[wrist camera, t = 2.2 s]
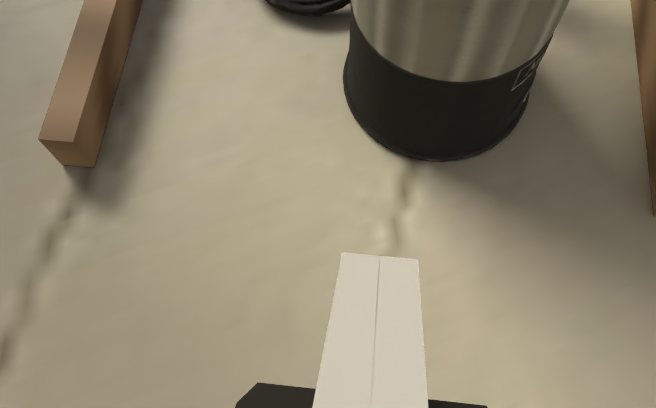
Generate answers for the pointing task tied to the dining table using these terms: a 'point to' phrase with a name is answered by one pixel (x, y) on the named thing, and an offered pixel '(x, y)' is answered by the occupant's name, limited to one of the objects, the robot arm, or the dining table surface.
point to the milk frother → (440, 69)
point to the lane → (112, 46)
